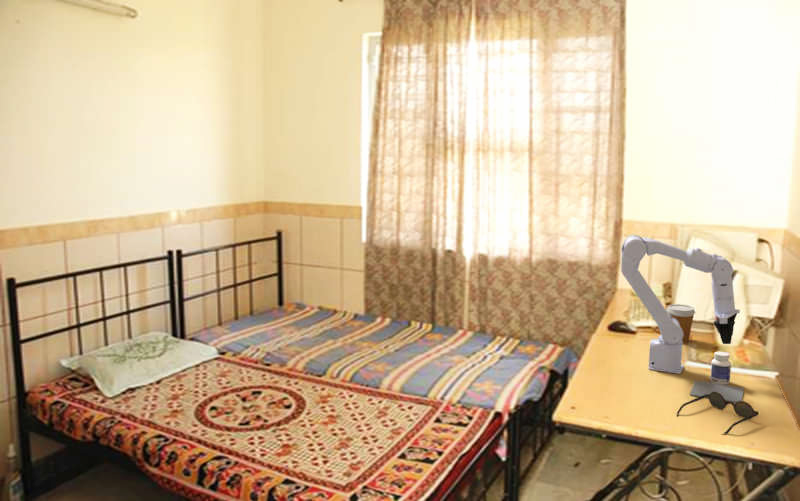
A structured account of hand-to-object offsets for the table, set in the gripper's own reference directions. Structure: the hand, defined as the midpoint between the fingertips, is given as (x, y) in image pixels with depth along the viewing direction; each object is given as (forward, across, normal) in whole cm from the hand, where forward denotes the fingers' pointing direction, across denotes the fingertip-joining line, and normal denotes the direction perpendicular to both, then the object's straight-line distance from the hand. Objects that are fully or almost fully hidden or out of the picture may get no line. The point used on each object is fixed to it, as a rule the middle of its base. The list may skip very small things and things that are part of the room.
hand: (727, 339), depth 203 cm
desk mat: (+10, -18, +2) cm, 21 cm away
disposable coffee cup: (+9, +28, +18) cm, 35 cm away
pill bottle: (+10, -9, +2) cm, 14 cm away
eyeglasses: (+10, -38, +2) cm, 39 cm away
